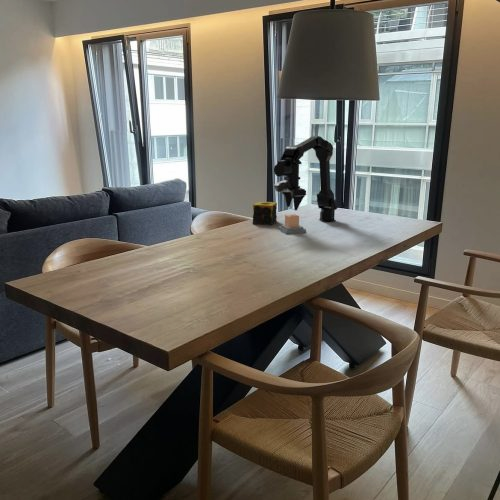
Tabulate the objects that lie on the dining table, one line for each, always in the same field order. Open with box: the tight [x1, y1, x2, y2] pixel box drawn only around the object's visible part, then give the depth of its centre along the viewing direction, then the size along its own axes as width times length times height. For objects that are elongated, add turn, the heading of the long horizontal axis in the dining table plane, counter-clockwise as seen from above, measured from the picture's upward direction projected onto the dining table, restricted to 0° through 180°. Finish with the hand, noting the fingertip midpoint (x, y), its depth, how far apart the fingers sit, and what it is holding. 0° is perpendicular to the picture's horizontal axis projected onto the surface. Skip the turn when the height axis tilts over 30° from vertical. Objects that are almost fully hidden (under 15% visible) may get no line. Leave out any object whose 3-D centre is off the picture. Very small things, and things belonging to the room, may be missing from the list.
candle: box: [252, 201, 278, 226], centre depth 247 cm, size 10×10×10 cm
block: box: [284, 213, 300, 227], centre depth 229 cm, size 5×5×5 cm
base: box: [277, 223, 307, 235], centre depth 230 cm, size 10×10×2 cm
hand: (292, 208), depth 227 cm, fingers open, 9 cm apart
